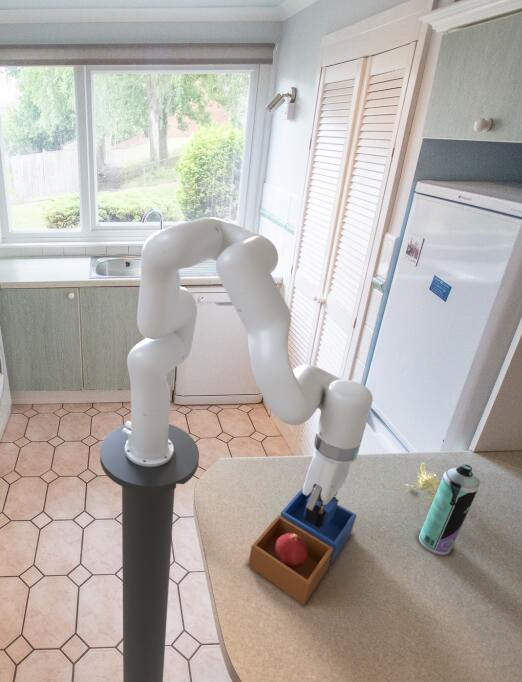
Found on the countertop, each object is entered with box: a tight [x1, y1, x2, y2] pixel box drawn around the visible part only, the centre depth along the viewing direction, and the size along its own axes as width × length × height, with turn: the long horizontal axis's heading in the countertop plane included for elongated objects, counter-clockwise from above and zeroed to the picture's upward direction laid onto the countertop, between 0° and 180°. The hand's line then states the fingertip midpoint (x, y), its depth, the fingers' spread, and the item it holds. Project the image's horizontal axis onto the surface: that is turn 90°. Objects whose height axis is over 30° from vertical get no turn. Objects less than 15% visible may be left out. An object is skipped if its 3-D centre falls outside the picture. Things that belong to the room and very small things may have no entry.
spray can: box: [418, 464, 481, 556], centre depth 87 cm, size 6×6×20 cm
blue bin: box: [279, 487, 357, 566], centre depth 92 cm, size 11×10×6 cm
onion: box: [275, 533, 308, 568], centre depth 85 cm, size 6×6×8 cm
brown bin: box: [247, 514, 334, 606], centre depth 85 cm, size 11×10×6 cm
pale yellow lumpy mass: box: [403, 458, 442, 505], centre depth 100 cm, size 11×15×9 cm
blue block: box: [303, 496, 339, 529], centre depth 91 cm, size 4×4×4 cm
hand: (318, 515), depth 91 cm, fingers closed on blue block, 4 cm apart
